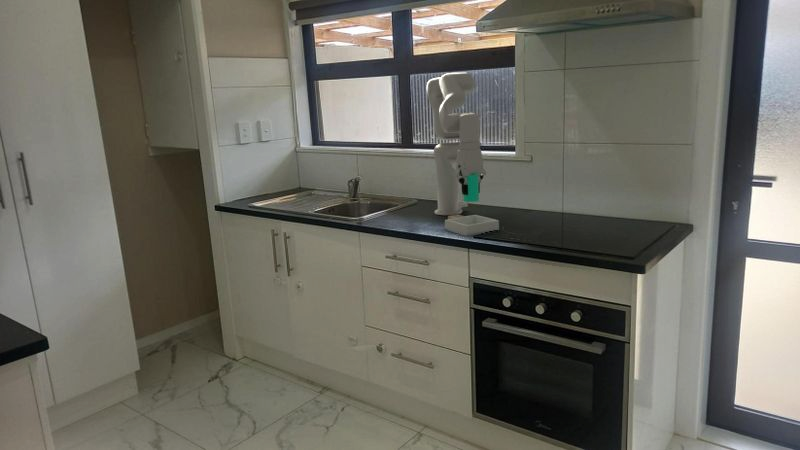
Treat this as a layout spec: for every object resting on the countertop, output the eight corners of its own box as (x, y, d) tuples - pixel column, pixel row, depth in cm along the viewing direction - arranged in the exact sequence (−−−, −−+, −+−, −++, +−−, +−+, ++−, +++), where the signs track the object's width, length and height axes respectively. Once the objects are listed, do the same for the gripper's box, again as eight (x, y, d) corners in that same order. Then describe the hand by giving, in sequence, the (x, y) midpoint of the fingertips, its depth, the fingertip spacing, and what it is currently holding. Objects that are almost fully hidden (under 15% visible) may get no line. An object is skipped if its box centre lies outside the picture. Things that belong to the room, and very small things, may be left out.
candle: (482, 200, 227) (481, 169, 225) (472, 202, 223) (471, 171, 220) (469, 198, 231) (469, 168, 229) (460, 201, 227) (459, 170, 225)
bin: (475, 224, 240) (475, 214, 239) (498, 230, 227) (498, 220, 226) (445, 229, 232) (444, 219, 232) (467, 236, 220) (467, 226, 219)
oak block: (458, 224, 243) (457, 214, 242) (465, 226, 238) (464, 216, 237) (448, 225, 240) (447, 216, 239) (454, 227, 236) (454, 218, 235)
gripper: (481, 144, 230) (482, 190, 234) (445, 147, 222) (447, 195, 226) (493, 145, 224) (494, 192, 227) (457, 148, 215) (458, 197, 219)
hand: (470, 193), depth 226 cm, fingers closed on candle, 4 cm apart
